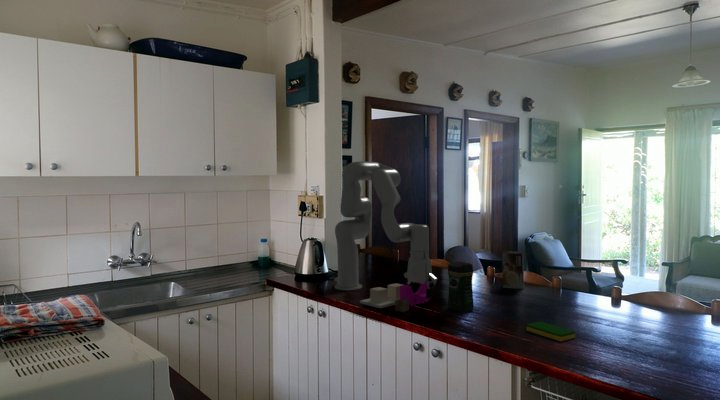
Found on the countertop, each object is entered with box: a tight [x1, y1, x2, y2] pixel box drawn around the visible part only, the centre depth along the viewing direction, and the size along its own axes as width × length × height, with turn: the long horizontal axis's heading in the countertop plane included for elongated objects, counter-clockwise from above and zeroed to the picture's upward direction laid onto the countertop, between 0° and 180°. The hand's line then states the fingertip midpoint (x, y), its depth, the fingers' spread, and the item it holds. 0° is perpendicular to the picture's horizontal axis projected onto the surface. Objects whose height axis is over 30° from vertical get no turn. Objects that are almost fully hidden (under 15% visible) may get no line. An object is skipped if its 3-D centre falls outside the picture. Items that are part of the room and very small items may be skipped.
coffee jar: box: [447, 260, 474, 313], centre depth 200 cm, size 10×8×19 cm
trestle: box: [359, 283, 403, 309], centre depth 214 cm, size 12×20×6 cm, turn 132°
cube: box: [394, 299, 410, 313], centre depth 200 cm, size 4×4×4 cm
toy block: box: [400, 283, 432, 307], centre depth 213 cm, size 15×6×8 cm, turn 132°
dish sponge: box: [526, 320, 576, 342], centre depth 168 cm, size 7×14×2 cm, turn 30°
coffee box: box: [501, 250, 525, 290], centre depth 237 cm, size 9×6×16 cm
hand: (420, 296), depth 213 cm, fingers open, 9 cm apart
